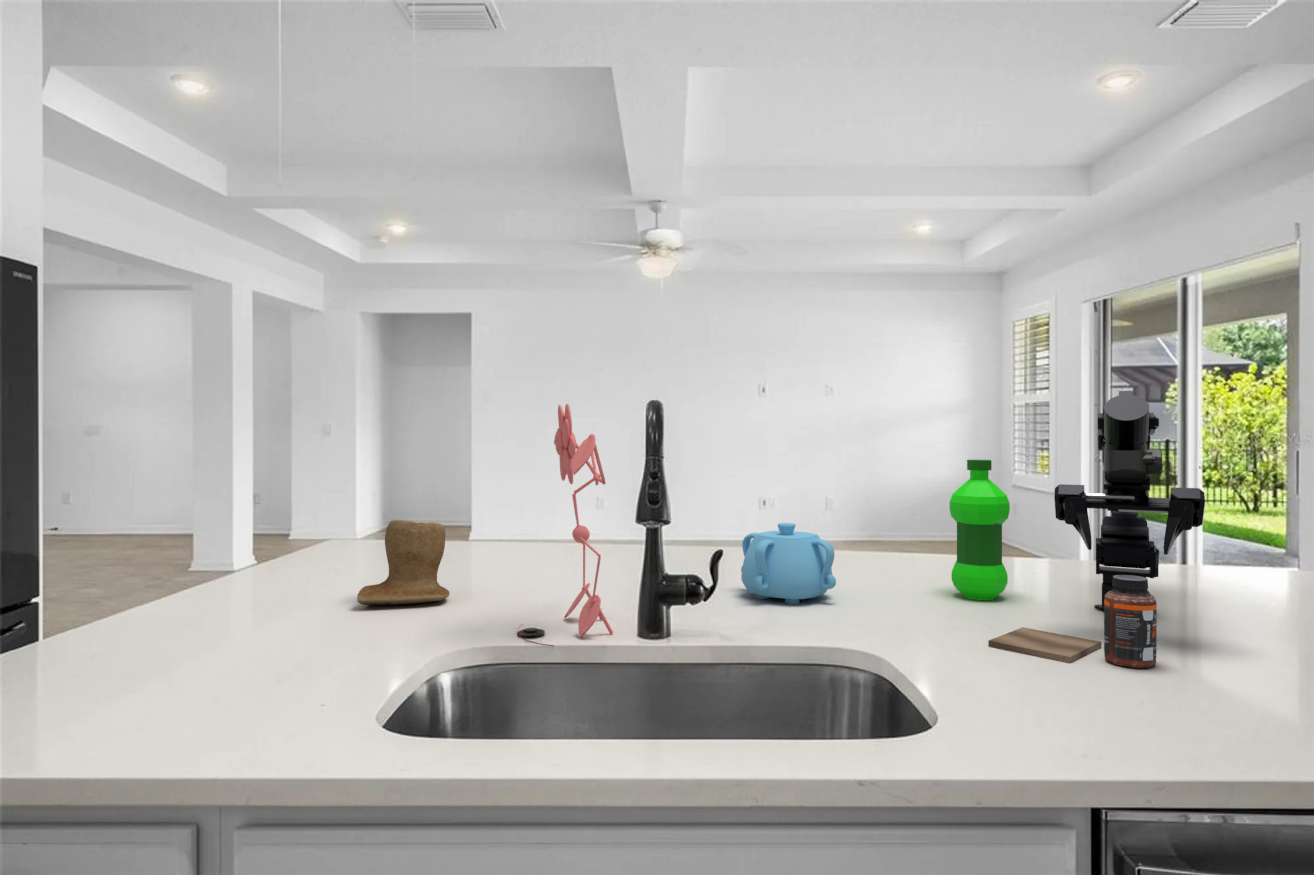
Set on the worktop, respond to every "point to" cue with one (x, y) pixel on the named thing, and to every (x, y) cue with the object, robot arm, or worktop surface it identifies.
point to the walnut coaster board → (1045, 644)
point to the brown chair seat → (409, 565)
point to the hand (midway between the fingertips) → (1127, 550)
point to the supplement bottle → (1130, 623)
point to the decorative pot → (787, 564)
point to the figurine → (570, 466)
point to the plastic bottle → (979, 534)
